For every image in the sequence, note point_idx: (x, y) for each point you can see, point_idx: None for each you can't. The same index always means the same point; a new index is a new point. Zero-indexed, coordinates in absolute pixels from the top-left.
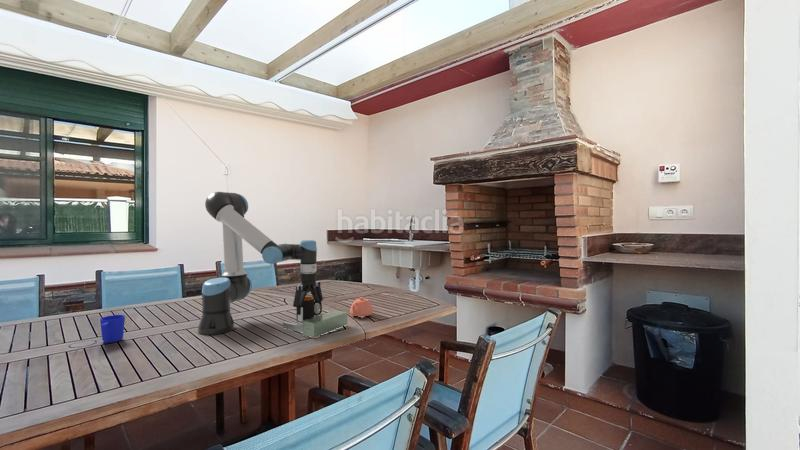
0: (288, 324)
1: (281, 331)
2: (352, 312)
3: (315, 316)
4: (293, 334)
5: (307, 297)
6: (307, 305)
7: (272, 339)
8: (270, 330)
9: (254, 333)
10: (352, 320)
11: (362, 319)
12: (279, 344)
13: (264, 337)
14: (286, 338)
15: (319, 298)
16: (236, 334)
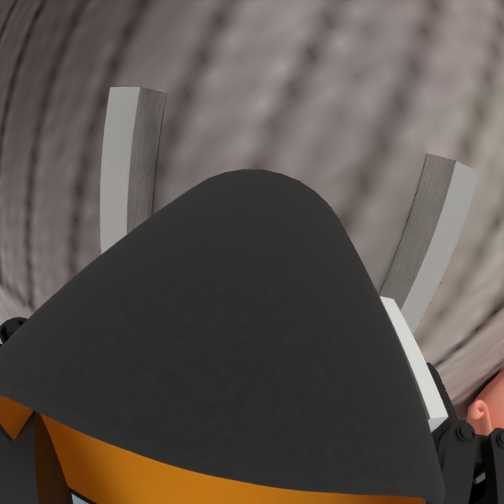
0: (104, 169)
1: (90, 138)
2: (474, 416)
3: (425, 268)
4: (91, 257)
5: (421, 498)
6: (139, 461)
7: (7, 205)
8: (80, 55)
9: (25, 41)
10: (449, 396)
11: (458, 412)
12: (6, 277)
13: (4, 145)
14: (43, 260)
15: (477, 471)
16: (8, 2)
